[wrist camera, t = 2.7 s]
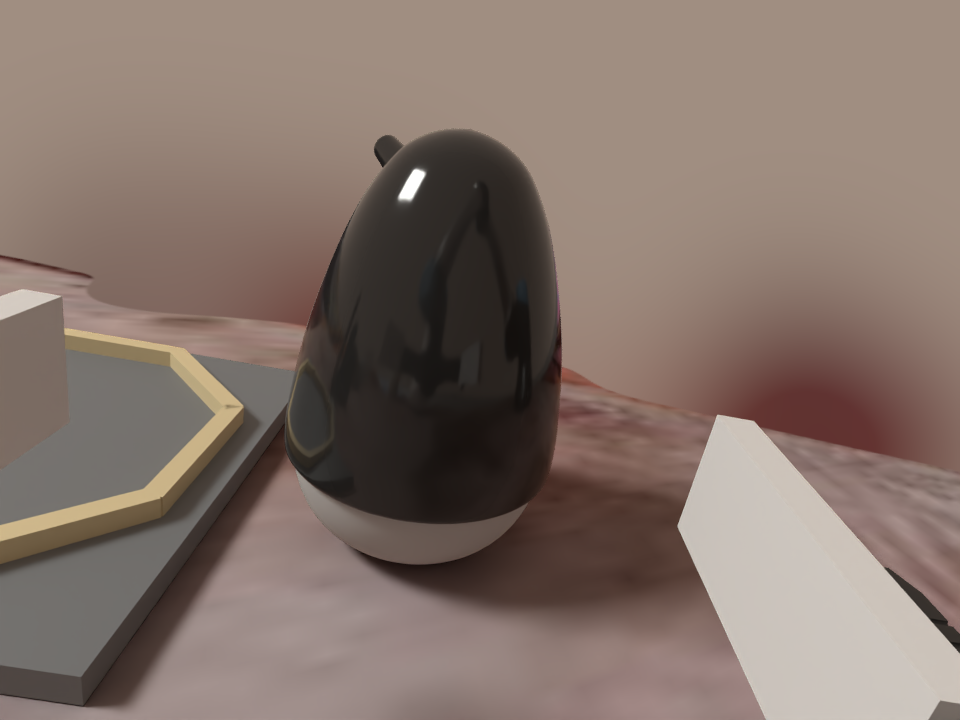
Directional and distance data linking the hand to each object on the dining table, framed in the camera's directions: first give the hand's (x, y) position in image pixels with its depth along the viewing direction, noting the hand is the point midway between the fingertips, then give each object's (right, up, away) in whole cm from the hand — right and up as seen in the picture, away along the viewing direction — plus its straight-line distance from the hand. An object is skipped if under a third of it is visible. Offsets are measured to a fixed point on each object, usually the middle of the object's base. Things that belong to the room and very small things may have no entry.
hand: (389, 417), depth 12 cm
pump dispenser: (-1, -5, +13) cm, 14 cm away
